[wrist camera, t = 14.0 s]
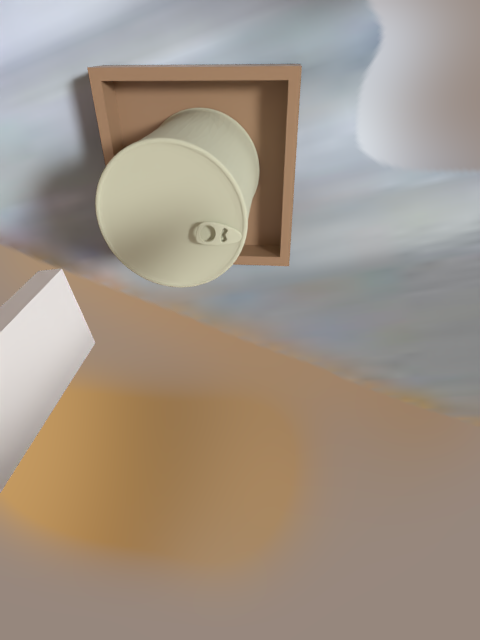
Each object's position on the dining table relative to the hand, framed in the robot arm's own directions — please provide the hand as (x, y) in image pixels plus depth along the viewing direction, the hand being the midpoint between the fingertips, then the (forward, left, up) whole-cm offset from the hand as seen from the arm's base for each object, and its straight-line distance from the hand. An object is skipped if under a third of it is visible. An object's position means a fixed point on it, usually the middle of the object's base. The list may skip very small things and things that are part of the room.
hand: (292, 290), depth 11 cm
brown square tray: (+3, -7, -25) cm, 26 cm away
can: (+3, -7, -25) cm, 26 cm away
